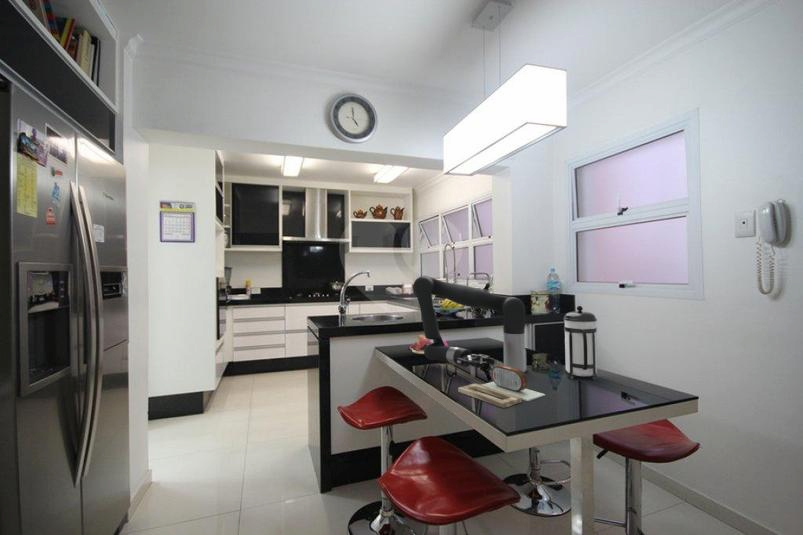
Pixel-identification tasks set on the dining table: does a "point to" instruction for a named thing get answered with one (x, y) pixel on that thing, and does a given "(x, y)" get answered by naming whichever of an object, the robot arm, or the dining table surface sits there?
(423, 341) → the candy landscape model
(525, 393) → the mat
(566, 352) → the coffee press
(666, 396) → the dining table surface
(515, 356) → the robot arm
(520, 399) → the slot holder
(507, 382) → the tin
